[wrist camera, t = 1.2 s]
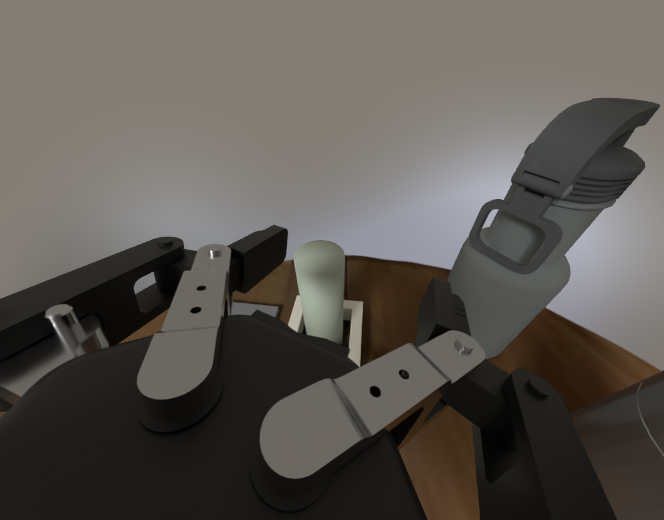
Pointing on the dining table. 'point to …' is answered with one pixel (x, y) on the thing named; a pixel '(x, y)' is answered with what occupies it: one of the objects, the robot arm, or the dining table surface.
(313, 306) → the sage canister
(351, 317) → the cream pocket
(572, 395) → the dining table surface
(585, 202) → the water bottle
